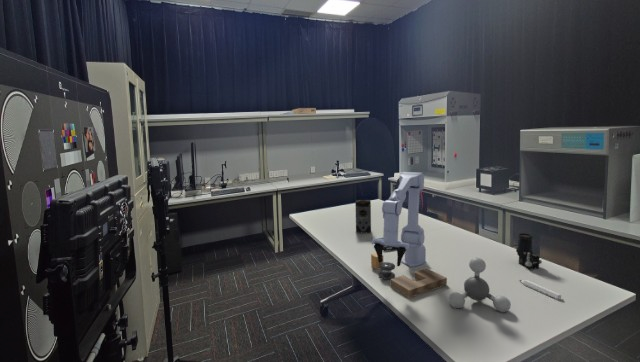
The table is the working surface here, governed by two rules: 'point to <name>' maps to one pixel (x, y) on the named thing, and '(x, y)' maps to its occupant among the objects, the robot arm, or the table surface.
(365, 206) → the electronic device
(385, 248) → the disk drive
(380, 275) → the bobbin
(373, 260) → the orange rectangular block
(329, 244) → the table surface
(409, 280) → the notched board
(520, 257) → the scope
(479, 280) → the molecule model
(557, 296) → the marker
